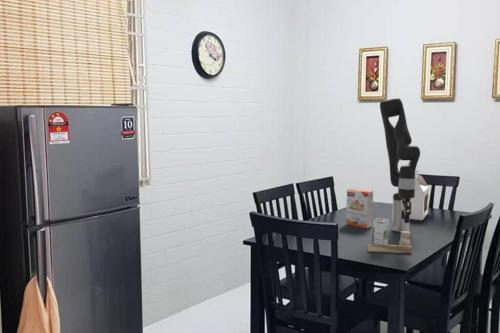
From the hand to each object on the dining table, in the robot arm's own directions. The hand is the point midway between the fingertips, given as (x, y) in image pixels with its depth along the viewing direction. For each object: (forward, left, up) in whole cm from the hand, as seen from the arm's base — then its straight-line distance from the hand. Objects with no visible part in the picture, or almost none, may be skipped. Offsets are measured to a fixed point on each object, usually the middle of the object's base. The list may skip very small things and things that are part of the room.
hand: (405, 220), depth 241 cm
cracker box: (-44, -18, -14) cm, 49 cm away
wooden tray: (0, -8, -13) cm, 15 cm away
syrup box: (+2, -12, -14) cm, 18 cm away
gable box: (-77, +19, -14) cm, 81 cm away
